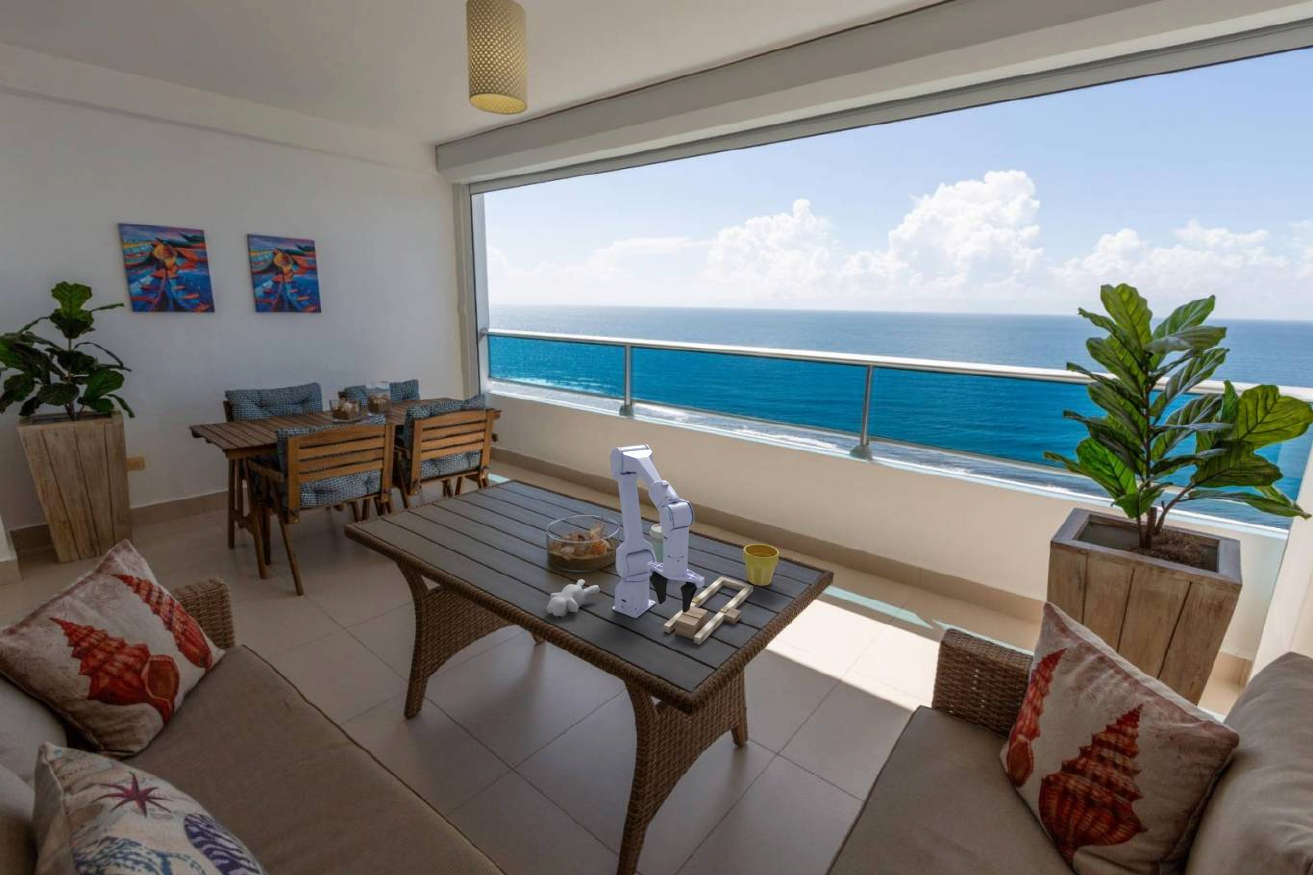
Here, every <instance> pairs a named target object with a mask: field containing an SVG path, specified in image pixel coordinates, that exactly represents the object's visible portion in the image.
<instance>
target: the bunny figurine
mask: <svg viewBox="0 0 1313 875" xmlns="http://www.w3.org/2000/svg"><path fill="white" fill-rule="evenodd" d="M585 583H586V580H584V579H582V578H581V579H578V580H577V582H576V584H573V583H569V584H566V585H565V586H564V587H563V589H562V590H561V592H552V593H551V594H550V600H549V602H548V604H547V606H546V607H545V608H546V613H549V614H550V615H553V616H555V617H559V616H560V617H565V616H566V615H567V614H568V612H571V613H578V612H579V608H580V607H581V606H582V605H583V604H584V603H585V601H586V598H587V596H589V595H593V594H597V593H599V592H600V591H601V589H600V588H599V585H597V584H594V585H590V586H588V587H585V588H584V589H583V588H582V587H583V585H584V584H585Z"/></svg>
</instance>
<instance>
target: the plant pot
mask: <svg viewBox="0 0 1313 875" xmlns="http://www.w3.org/2000/svg"><path fill="white" fill-rule="evenodd" d="M742 553H743V554H742V555H743V556H742V557H743V558H742V560H743V562H744V563H745V568H746V574H747V580H748V582H750V584H752V585H755V586H759V587H763V586H767V585H770V584H771V583H772V578H773V576H774V572H775V569H776V566H778V563H779V558H780V552H779V550H778V549H777V547H774V546H772V545H770V544H762V543H751V544H748V545H745V546H744V547H743V551H742Z"/></svg>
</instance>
